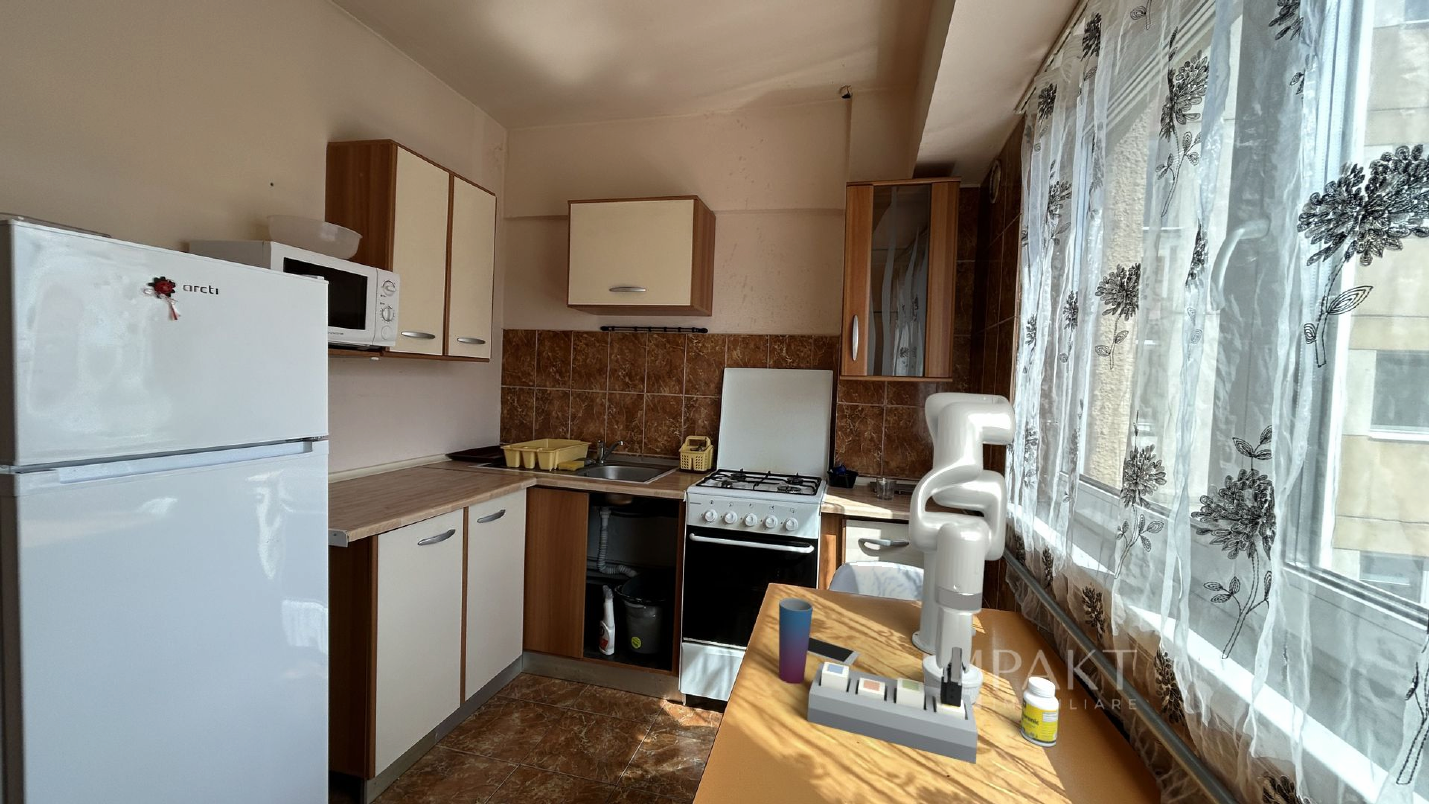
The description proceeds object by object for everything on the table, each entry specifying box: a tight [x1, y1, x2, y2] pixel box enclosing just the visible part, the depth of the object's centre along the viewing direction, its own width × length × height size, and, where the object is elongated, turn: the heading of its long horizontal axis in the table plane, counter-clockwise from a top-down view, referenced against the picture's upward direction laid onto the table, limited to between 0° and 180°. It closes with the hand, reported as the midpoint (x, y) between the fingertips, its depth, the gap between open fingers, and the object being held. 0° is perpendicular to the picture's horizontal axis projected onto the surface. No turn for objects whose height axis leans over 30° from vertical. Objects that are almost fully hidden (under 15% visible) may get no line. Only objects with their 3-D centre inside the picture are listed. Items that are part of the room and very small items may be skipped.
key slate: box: [821, 661, 850, 692], centre depth 102 cm, size 4×4×3 cm
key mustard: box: [935, 694, 965, 719], centre depth 95 cm, size 4×4×3 cm
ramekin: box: [921, 655, 984, 705], centre depth 109 cm, size 11×11×5 cm
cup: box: [778, 597, 814, 685], centre depth 112 cm, size 7×7×15 cm
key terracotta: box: [858, 678, 885, 701], centre depth 99 cm, size 4×4×3 cm
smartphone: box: [807, 636, 861, 667], centre depth 125 cm, size 8×1×15 cm
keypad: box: [807, 662, 979, 765], centre depth 98 cm, size 27×12×5 cm, turn 71°
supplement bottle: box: [1020, 676, 1060, 748], centre depth 96 cm, size 5×5×10 cm
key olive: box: [896, 676, 925, 710], centre depth 97 cm, size 4×4×3 cm
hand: (950, 702), depth 95 cm, fingers closed
